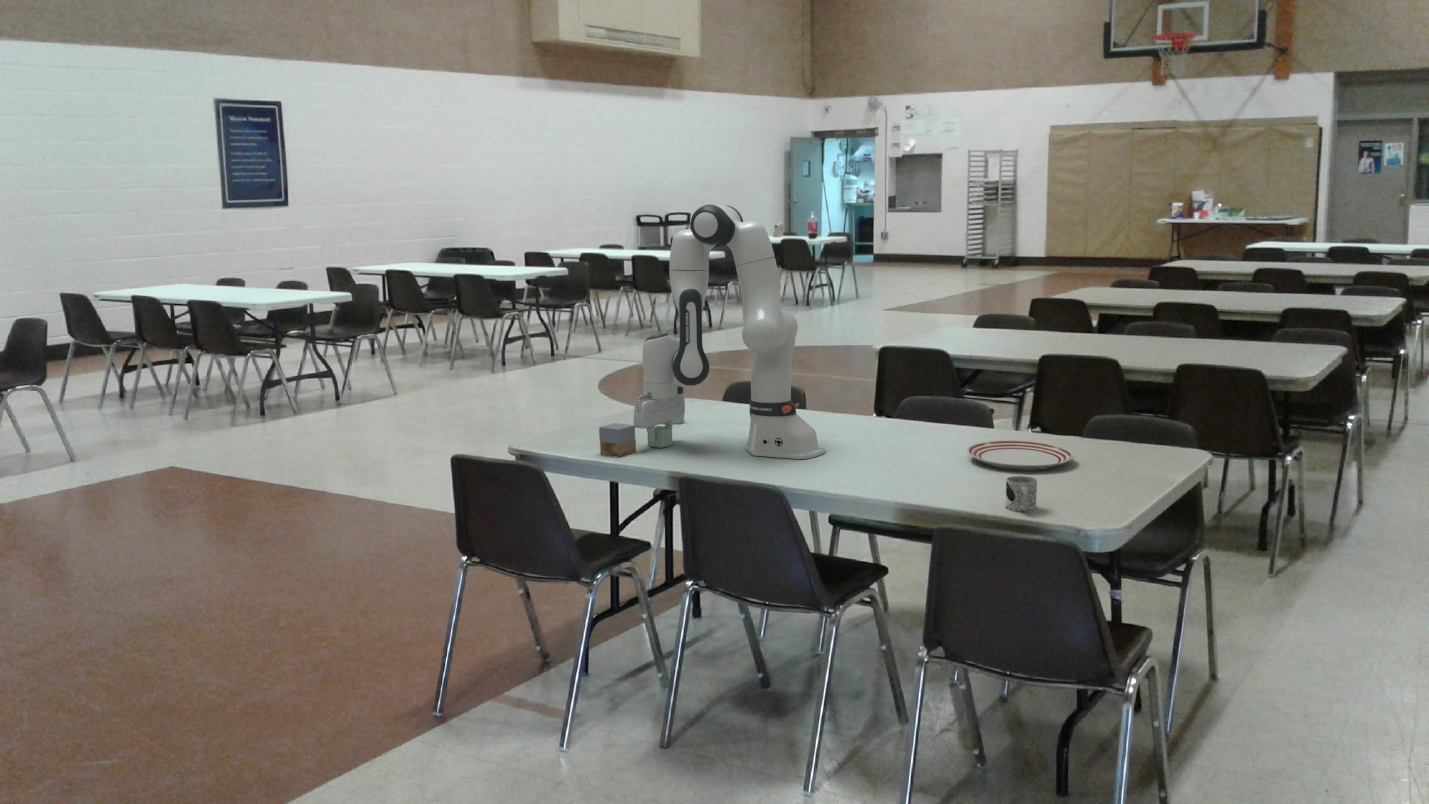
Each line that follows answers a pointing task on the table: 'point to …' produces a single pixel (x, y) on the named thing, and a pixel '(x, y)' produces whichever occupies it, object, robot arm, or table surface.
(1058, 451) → the dinner plate
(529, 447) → the table surface
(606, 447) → the tower base
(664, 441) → the sage block
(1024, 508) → the mug
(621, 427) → the tower top
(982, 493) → the table surface
